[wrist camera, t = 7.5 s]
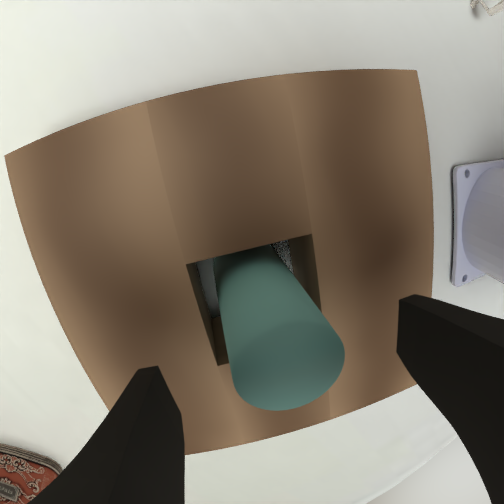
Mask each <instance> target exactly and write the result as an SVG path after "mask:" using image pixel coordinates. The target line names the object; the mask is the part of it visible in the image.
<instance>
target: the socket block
mask: <svg viewBox="0 0 504 504" xmlns="http://www.w3.org/2000/svg"><path fill="white" fill-rule="evenodd" d="M5 161H6V166H7V171H8V175H9V180H10V184H11V188H12V192H13V196H14V199H15V203H16V207H17V210H18V214H19V217H20V221H21V224H22V227H23V230H24V233H25V236H26V239H27V242H28V245H29V248H30V251H31V254H32V257H33V260H34V262H35V265H36V268H37V270H38V273H39V275H40V278H41V280H42V283H43V285H44V288H45V290H46V293H47V295H48V297H49V300H50V302H51V304H52V307H53V309H54V311H55V313H56V315H57V317H58V320H59V322H60V324H61V326H62V328H63V330H64V332H65V334H66V336H67V338H68V340H69V342H70V344H71V346H72V348H73V350H74V352H75V354H76V356H77V357H78V359H79V361H80V363H81V365H82V367H83V368H84V370H85V372H86V374H87V375H88V377H89V379H90V381H91V382H92V384H93V386H94V387H95V389H96V391H97V392H98V394H99V395H100V397H101V399H102V400H103V402H104V403H105V405H106V407H107V408H108V410H109V411H110V410H111V409H112V407H113V406H114V404H115V403H116V401H117V400H118V398H119V397H120V395H121V394H122V392H123V391H124V389H125V388H126V386H127V385H128V383H129V382H130V380H131V379H132V377H133V376H134V374H135V373H136V371H137V370H138V369H141V368H147V367H152V366H157V365H158V366H159V369H160V371H161V373H162V375H163V377H164V379H165V381H166V384H167V386H168V388H169V390H170V392H171V394H172V396H173V398H174V400H175V402H176V404H177V406H178V408H179V410H180V412H181V415H182V423H183V432H184V441H185V455H189V454H195V453H201V452H207V451H213V450H218V449H223V448H228V447H233V446H238V445H242V444H247V443H251V442H255V441H259V440H263V439H267V438H271V437H275V436H279V435H282V434H286V433H289V432H293V431H296V430H300V429H303V428H306V427H309V426H312V425H316V424H319V423H322V422H325V421H328V420H331V419H333V418H336V417H339V416H342V415H345V414H347V413H350V412H353V411H355V410H358V409H361V408H363V407H366V406H368V405H371V404H373V403H376V402H378V401H380V400H383V399H385V398H387V397H390V396H392V395H394V394H396V393H399V392H401V391H403V390H405V389H407V388H410V387H412V386H414V385H416V384H417V383H416V382H415V380H414V379H413V378H412V377H411V375H410V374H409V372H408V371H407V369H406V367H405V366H404V364H403V363H402V361H401V359H400V358H399V356H398V354H397V353H396V348H397V333H398V311H399V299H402V298H405V297H408V296H410V295H413V294H418V295H422V296H426V297H430V298H431V295H432V279H433V250H434V221H433V192H432V176H431V164H430V153H429V144H428V135H427V128H426V121H425V114H424V107H423V101H422V96H421V90H420V85H419V80H418V75H417V70H396V69H357V70H332V71H316V72H304V73H293V74H284V75H275V76H267V77H260V78H253V79H247V80H240V81H234V82H229V83H223V84H218V85H213V86H208V87H203V88H198V89H193V90H189V91H185V92H180V93H176V94H172V95H168V96H164V97H160V98H156V99H153V100H149V101H145V102H142V103H138V104H135V105H132V106H128V107H125V108H122V109H119V110H116V111H112V112H109V113H106V114H103V115H100V116H98V117H95V118H92V119H89V120H86V121H84V122H81V123H78V124H76V125H73V126H70V127H68V128H65V129H63V130H60V131H58V132H55V133H53V134H50V135H48V136H46V137H43V138H41V139H39V140H37V141H34V142H32V143H30V144H28V145H26V146H23V147H21V148H19V149H17V150H15V151H13V152H11V153H9V154H7V155H5ZM283 240H288V241H289V247H290V254H291V260H292V266H293V272H294V276H295V278H296V279H297V280H298V282H299V283H300V284H301V286H302V287H303V288H304V290H305V291H306V292H307V294H308V295H309V296H310V298H311V299H312V300H313V302H314V303H315V304H316V306H317V307H318V309H319V310H320V311H321V313H322V314H323V315H324V317H325V318H326V319H327V321H328V322H329V323H330V325H331V326H332V327H333V329H334V330H335V332H336V333H337V334H338V336H339V337H340V339H341V341H342V343H343V346H344V350H345V360H344V365H343V368H342V371H341V373H340V375H339V377H338V378H337V380H336V381H335V383H334V384H333V385H332V386H331V387H330V388H329V389H328V390H327V391H326V392H325V393H324V394H323V395H321V396H320V397H318V398H317V399H315V400H313V401H312V402H310V403H308V404H305V405H303V406H300V407H297V408H293V409H288V410H280V411H273V410H265V409H260V408H257V407H255V406H252V405H251V404H249V403H247V402H246V401H244V400H243V399H242V398H241V397H240V396H239V394H238V393H237V391H236V389H235V387H234V384H233V379H232V374H231V369H230V364H229V358H228V353H227V348H226V342H225V337H224V331H223V325H222V320H221V316H219V317H215V318H211V315H210V312H209V309H208V305H207V302H206V299H205V295H204V292H203V288H202V285H201V281H200V278H199V274H198V270H197V267H196V263H195V262H198V261H202V260H206V259H210V258H214V257H218V256H222V255H226V254H230V253H234V252H238V251H242V250H247V249H251V248H255V247H259V246H263V245H267V244H271V243H275V242H279V241H283Z"/></svg>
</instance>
